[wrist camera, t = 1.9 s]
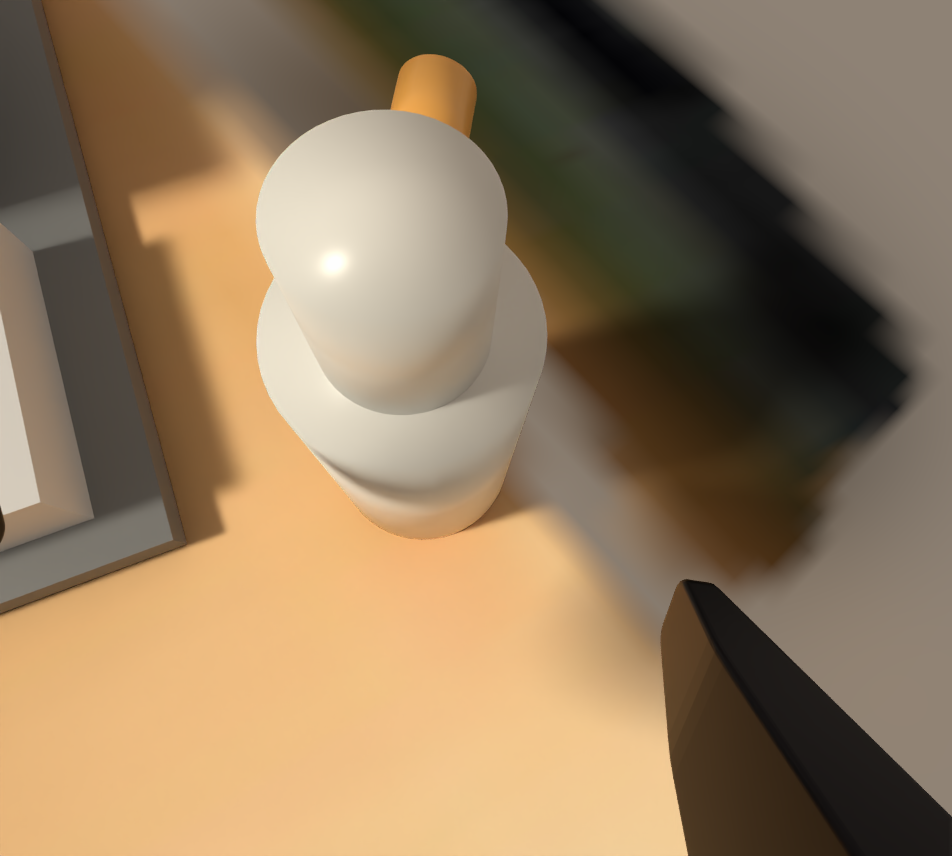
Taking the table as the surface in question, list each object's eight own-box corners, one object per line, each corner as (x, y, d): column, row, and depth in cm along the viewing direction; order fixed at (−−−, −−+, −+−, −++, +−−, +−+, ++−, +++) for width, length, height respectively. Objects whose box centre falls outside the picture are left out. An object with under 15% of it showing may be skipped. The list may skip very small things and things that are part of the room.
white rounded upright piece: (495, 551, 19) (562, 434, 7) (324, 525, 19) (120, 367, 8) (522, 352, 21) (610, 5, 9) (367, 328, 21) (258, -46, 9)
